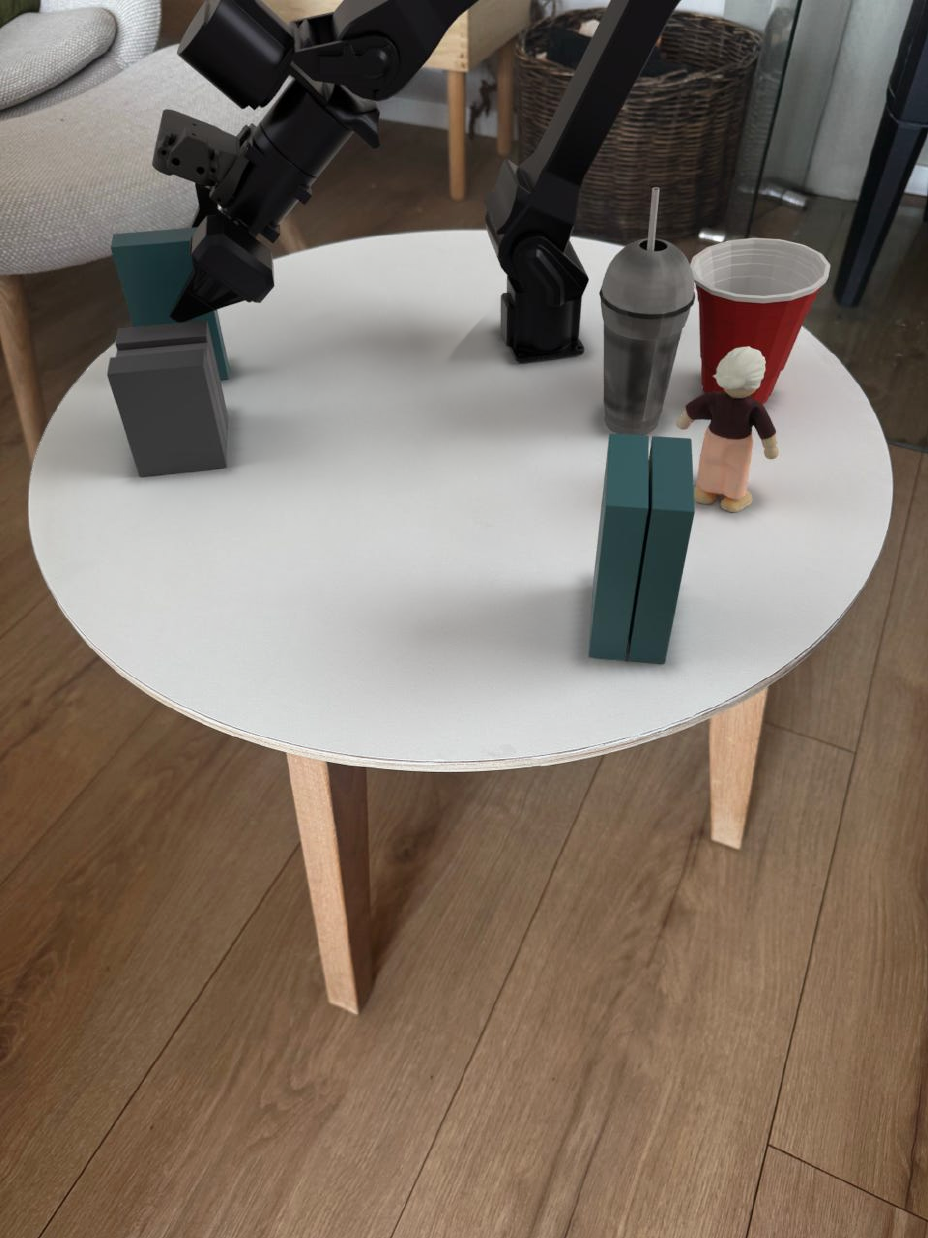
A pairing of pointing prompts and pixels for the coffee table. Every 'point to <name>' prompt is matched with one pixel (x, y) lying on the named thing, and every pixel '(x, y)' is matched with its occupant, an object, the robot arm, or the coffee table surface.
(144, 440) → the grey books
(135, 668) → the coffee table surface
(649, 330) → the beverage cup
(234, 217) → the robot arm
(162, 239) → the teal book
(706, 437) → the grandmother figurine
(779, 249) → the plastic cup
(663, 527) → the teal books
